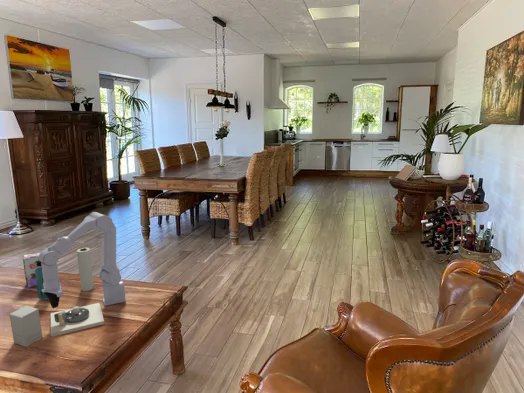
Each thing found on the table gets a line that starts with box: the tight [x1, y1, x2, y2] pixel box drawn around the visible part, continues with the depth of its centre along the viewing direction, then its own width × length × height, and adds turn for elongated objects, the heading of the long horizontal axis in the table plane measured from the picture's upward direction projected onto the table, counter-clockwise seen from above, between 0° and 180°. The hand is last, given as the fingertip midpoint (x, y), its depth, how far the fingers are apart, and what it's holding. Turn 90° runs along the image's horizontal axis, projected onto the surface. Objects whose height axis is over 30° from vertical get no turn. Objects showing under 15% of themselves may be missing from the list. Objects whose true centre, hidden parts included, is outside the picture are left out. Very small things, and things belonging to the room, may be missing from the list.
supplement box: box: [9, 305, 43, 348], centre depth 150 cm, size 7×7×13 cm
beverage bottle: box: [35, 260, 48, 300], centre depth 182 cm, size 6×7×20 cm
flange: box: [54, 308, 89, 323], centre depth 163 cm, size 14×10×4 cm
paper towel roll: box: [76, 246, 95, 292], centre depth 193 cm, size 7×6×21 cm
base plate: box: [50, 302, 105, 338], centre depth 165 cm, size 20×18×6 cm
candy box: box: [22, 252, 40, 289], centre depth 199 cm, size 14×6×16 cm, turn 117°
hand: (55, 307), depth 162 cm, fingers closed
